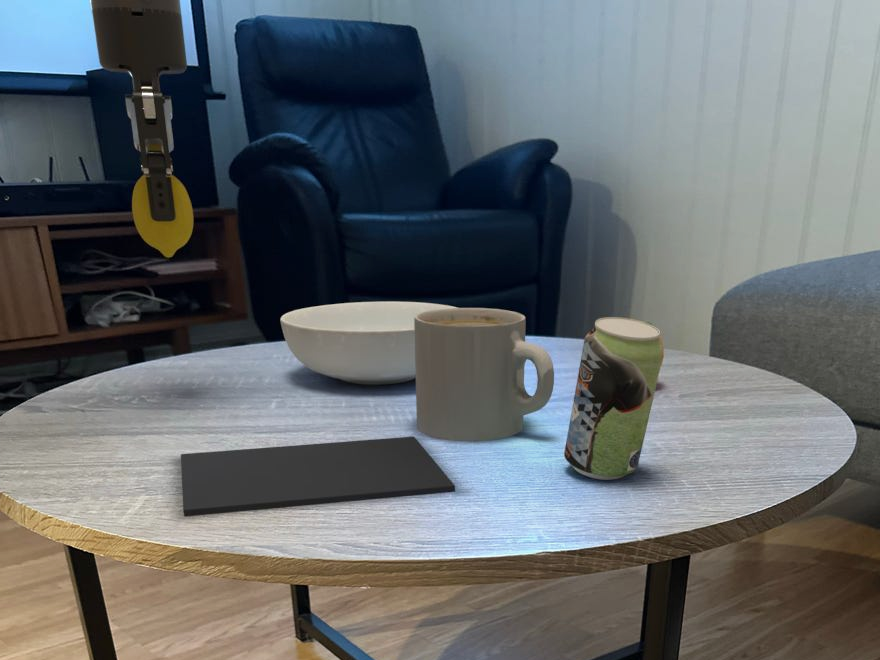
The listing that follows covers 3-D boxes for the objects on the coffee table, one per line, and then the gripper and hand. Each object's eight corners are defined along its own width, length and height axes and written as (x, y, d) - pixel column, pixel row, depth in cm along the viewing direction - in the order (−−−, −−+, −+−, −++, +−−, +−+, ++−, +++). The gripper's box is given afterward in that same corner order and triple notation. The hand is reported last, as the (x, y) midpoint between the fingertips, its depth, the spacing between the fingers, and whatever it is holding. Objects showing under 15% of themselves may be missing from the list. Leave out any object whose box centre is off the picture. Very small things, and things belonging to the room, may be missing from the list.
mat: (184, 517, 67) (183, 510, 66) (181, 460, 78) (180, 453, 78) (455, 492, 72) (455, 485, 71) (414, 442, 84) (414, 436, 83)
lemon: (195, 260, 90) (184, 167, 86) (135, 260, 89) (121, 166, 85) (200, 254, 95) (190, 166, 91) (143, 254, 94) (130, 165, 90)
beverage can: (586, 457, 80) (595, 310, 74) (665, 473, 76) (681, 319, 71) (547, 475, 75) (554, 320, 70) (629, 493, 72) (643, 331, 66)
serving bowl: (436, 353, 119) (435, 296, 115) (496, 390, 101) (497, 323, 98) (271, 364, 112) (265, 304, 109) (305, 405, 95) (300, 335, 92)
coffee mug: (395, 427, 88) (391, 316, 83) (469, 408, 94) (469, 304, 89) (499, 457, 80) (501, 336, 75) (572, 434, 86) (578, 321, 81)
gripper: (95, 16, 87) (124, 214, 95) (85, -6, 75) (120, 224, 83) (179, 20, 89) (201, 214, 97) (182, 0, 77) (207, 224, 85)
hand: (163, 217), depth 90 cm, fingers closed on lemon, 5 cm apart
